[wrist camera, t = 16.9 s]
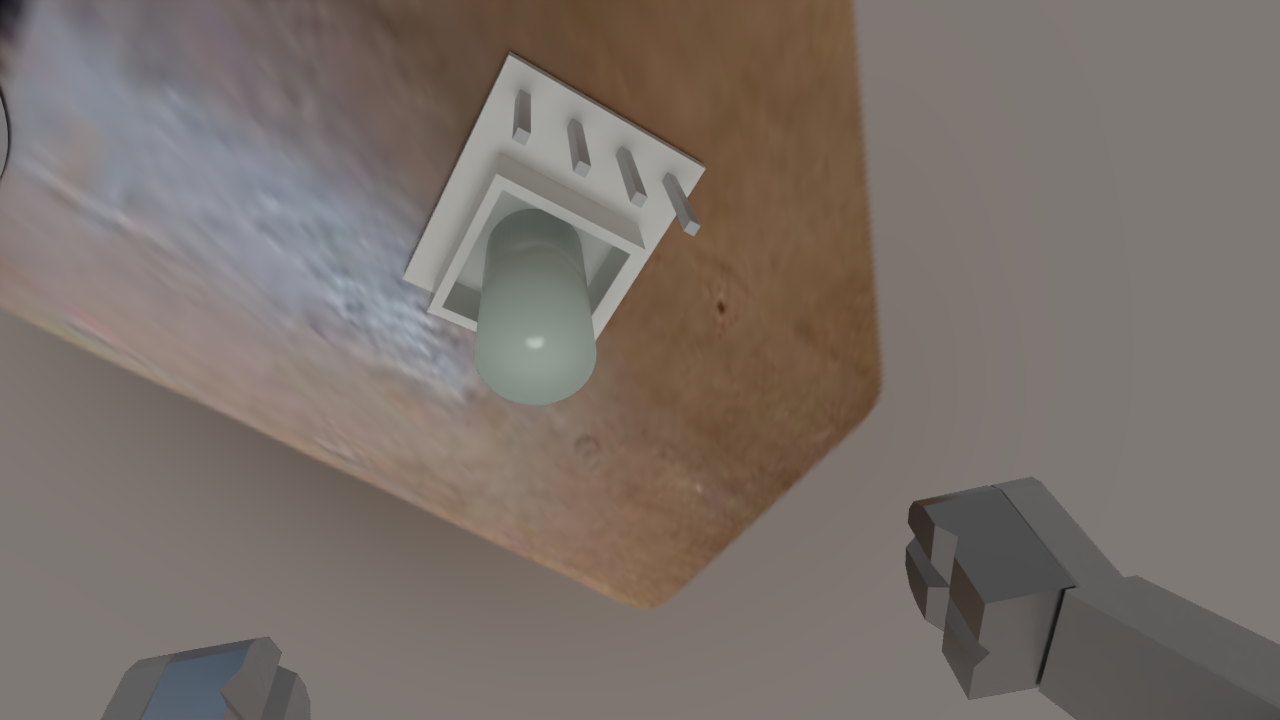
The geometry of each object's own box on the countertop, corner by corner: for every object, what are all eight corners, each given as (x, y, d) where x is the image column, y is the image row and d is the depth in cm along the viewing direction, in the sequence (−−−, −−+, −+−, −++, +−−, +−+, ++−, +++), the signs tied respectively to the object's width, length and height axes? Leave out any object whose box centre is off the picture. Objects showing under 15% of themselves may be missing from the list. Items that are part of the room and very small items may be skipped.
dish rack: (583, 349, 47) (592, 425, 41) (404, 271, 43) (381, 342, 36) (702, 163, 42) (735, 216, 35) (509, 50, 37) (504, 87, 31)
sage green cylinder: (500, 303, 44) (492, 414, 35) (474, 218, 41) (458, 316, 32) (590, 286, 44) (606, 392, 35) (571, 200, 41) (583, 291, 32)
